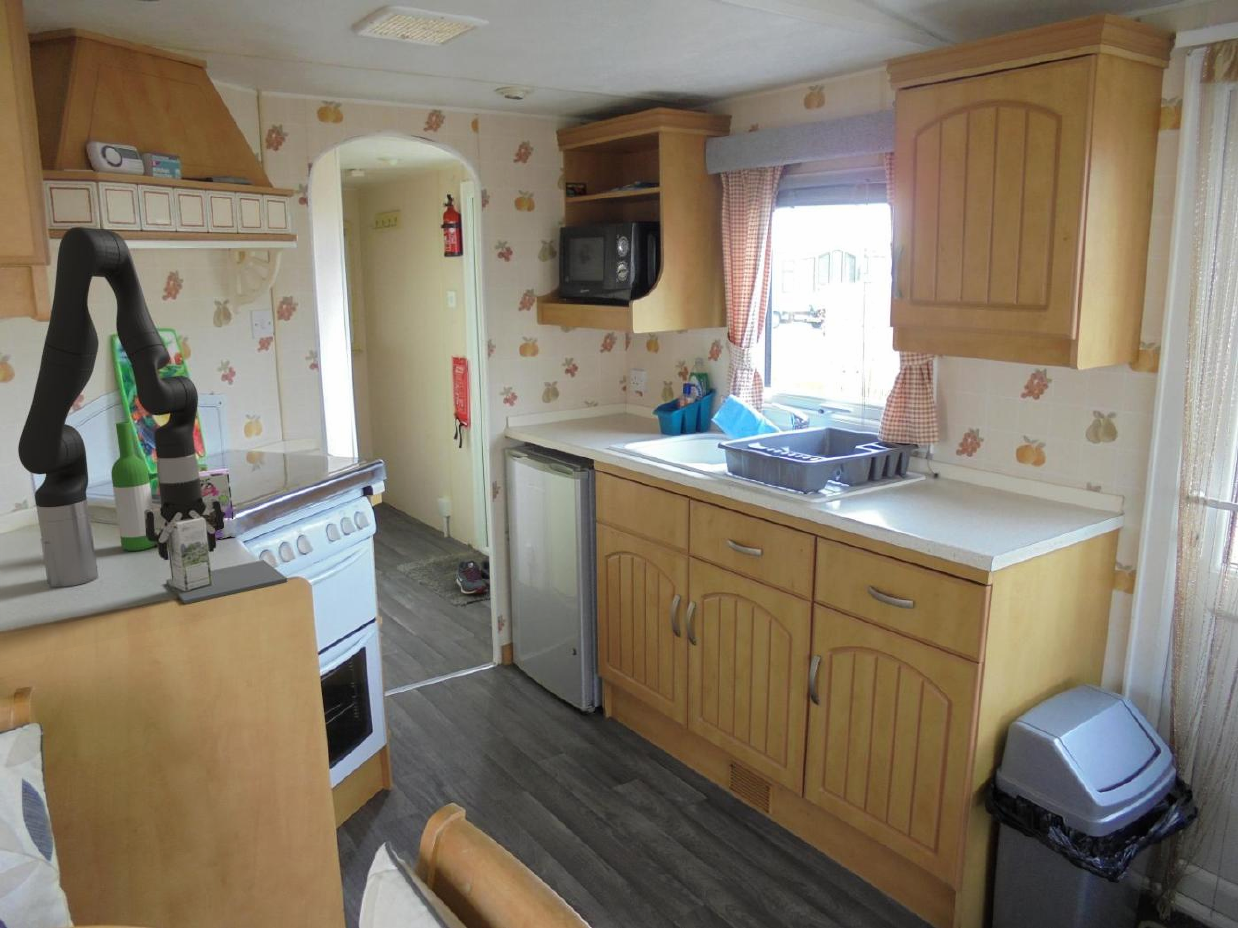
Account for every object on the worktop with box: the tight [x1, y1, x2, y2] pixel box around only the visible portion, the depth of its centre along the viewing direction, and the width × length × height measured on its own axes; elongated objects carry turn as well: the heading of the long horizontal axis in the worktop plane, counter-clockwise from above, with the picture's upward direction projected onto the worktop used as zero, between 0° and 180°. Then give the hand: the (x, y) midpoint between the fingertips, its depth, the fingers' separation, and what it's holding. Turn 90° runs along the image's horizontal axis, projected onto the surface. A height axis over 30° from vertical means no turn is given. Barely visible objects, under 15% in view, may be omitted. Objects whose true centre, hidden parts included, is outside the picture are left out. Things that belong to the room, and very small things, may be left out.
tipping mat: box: [166, 559, 288, 605], centre depth 196 cm, size 20×16×1 cm
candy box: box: [199, 468, 235, 541], centre depth 227 cm, size 14×6×16 cm, turn 114°
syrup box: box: [164, 517, 212, 592], centre depth 191 cm, size 6×6×14 cm
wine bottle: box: [111, 421, 158, 552], centre depth 220 cm, size 8×8×30 cm
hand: (188, 554), depth 191 cm, fingers open, 8 cm apart
